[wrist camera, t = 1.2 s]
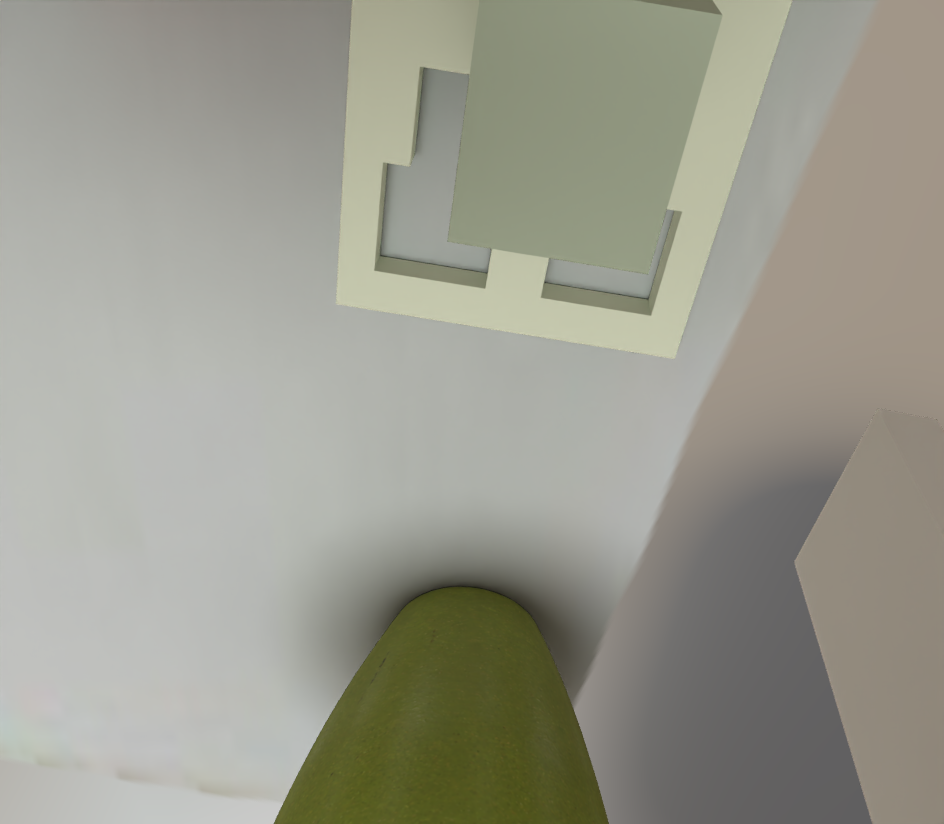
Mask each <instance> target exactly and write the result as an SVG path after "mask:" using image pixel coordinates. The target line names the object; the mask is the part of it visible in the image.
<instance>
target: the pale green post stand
mask: <svg viewBox="0 0 944 824" xmlns="http://www.w3.org/2000/svg"><path fill="white" fill-rule="evenodd" d="M792 1H793V0H352V9H351V28H350V47H349V66H348V85H347V104H346V123H345V142H344V161H343V180H342V199H341V218H340V237H339V256H338V275H337V294H336V304H339V305H345V306H351V307H358V308H364V309H370V310H376V311H382V312H388V313H395V314H401V315H407V316H413V317H419V318H425V319H432V320H438V321H444V322H450V323H456V324H462V325H469V326H475V327H481V328H487V329H493V330H499V331H506V332H512V333H518V334H524V335H530V336H536V337H543V338H549V339H555V340H561V341H567V342H573V343H580V344H586V345H592V346H598V347H604V348H610V349H617V350H623V351H629V352H635V353H641V354H647V355H654V356H660V357H666V358H672V359H675V356H676V353H677V350H678V347H679V344H680V341H681V338H682V335H683V332H684V329H685V326H686V323H687V320H688V317H689V314H690V311H691V308H692V305H693V302H694V298H695V295H696V292H697V289H698V286H699V283H700V280H701V277H702V274H703V271H704V268H705V265H706V262H707V259H708V256H709V253H710V250H711V247H712V244H713V241H714V238H715V235H716V232H717V229H718V226H719V223H720V219H721V216H722V213H723V210H724V207H725V204H726V201H727V198H728V195H729V192H730V189H731V186H732V183H733V180H734V177H735V174H736V171H737V168H738V165H739V162H740V159H741V156H742V153H743V150H744V147H745V144H746V140H747V137H748V134H749V131H750V128H751V125H752V122H753V119H754V116H755V113H756V110H757V107H758V104H759V101H760V98H761V95H762V92H763V89H764V86H765V83H766V80H767V77H768V74H769V71H770V68H771V64H772V61H773V58H774V55H775V52H776V49H777V46H778V43H779V40H780V37H781V34H782V31H783V28H784V25H785V22H786V19H787V16H788V13H789V10H790V7H791V4H792ZM424 67H425V68H431V69H437V70H443V71H449V72H455V73H461V74H467V75H469V83H468V90H467V98H466V105H465V113H464V120H463V128H462V135H461V143H460V150H459V158H458V166H457V173H456V181H455V188H454V196H453V203H452V211H451V218H450V226H449V233H448V241H447V242H453V243H459V244H465V245H471V246H477V247H484V248H490V249H492V250H491V256H490V262H489V268H488V273H482V272H475V271H469V270H463V269H457V268H451V267H445V266H439V265H432V264H426V263H420V262H414V261H408V260H402V259H396V258H390V257H383V256H380V248H381V236H382V224H383V212H384V200H385V188H386V176H387V164H388V163H390V164H396V165H402V166H409V167H410V165H411V163H412V160H413V158H414V155H415V148H416V138H417V128H418V119H419V109H420V99H421V89H422V79H423V69H424ZM667 209H669V210H675V211H674V214H673V217H672V221H671V224H670V228H669V231H668V234H667V238H666V241H665V245H664V248H663V251H662V255H661V258H660V262H659V265H658V268H657V272H656V275H655V279H654V282H653V286H652V289H651V292H650V296H649V299H648V300H647V299H641V298H635V297H629V296H622V295H616V294H610V293H604V292H598V291H592V290H586V289H580V288H573V287H567V286H561V285H555V284H549V283H544V280H545V275H546V270H547V265H548V261H549V258H551V259H557V260H563V261H569V262H575V263H581V264H587V265H594V266H600V267H606V268H612V269H618V270H624V271H630V272H636V273H642V274H648V273H649V270H650V266H651V263H652V259H653V256H654V252H655V249H656V245H657V242H658V238H659V235H660V231H661V228H662V224H663V221H664V217H665V214H666V210H667Z"/></svg>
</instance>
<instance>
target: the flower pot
mask: <svg viewBox="0 0 944 824" xmlns="http://www.w3.org/2000/svg"><path fill="white" fill-rule="evenodd" d="M274 824H609V822H608V819H607V815H606V812H605V808H604V804H603V801H602V797H601V794H600V790H599V786H598V783H597V780H596V776H595V773H594V770H593V767H592V764H591V760H590V757H589V754H588V751H587V748H586V744H585V742H584V738H583V735H582V732H581V729H580V726H579V723H578V721H577V718H576V715H575V712H574V710H573V707H572V704H571V702H570V699H569V697H568V694H567V691H566V689H565V686H564V684H563V681H562V679H561V677H560V674H559V672H558V670H557V667H556V665H555V663H554V660H553V658H552V656H551V654H550V651H549V649H548V647H547V645H546V643H545V641H544V639H543V637H542V635H541V633H540V631H539V629H538V627H537V625H536V623H535V621H534V620H533V618H532V617H531V616H530V615H529V614H528V613H527V611H525V610H524V609H523V608H522V607H521V606H520V605H519V604H517V603H516V602H514V601H513V600H511V599H509V598H507V597H505V596H502V595H500V594H497V593H495V592H492V591H488V590H484V589H479V588H473V587H448V588H442V589H438V590H434V591H430V592H428V593H425V594H423V595H421V596H419V597H417V598H415V599H414V600H412V601H411V602H409V603H408V604H407V605H406V606H405V607H404V608H403V609H402V611H401V612H400V613H399V614H398V615H397V617H396V618H395V619H394V620H393V622H392V623H391V624H390V626H389V627H388V629H387V630H386V631H385V633H384V634H383V635H382V637H381V638H380V640H379V641H378V642H377V644H376V645H375V647H374V648H373V649H372V651H371V652H370V654H369V655H368V657H367V658H366V660H365V661H364V663H363V664H362V665H361V667H360V668H359V670H358V671H357V673H356V674H355V676H354V677H353V679H352V681H351V682H350V684H349V685H348V687H347V689H346V690H345V692H344V693H343V695H342V696H341V698H340V700H339V701H338V703H337V705H336V706H335V708H334V710H333V711H332V713H331V715H330V716H329V718H328V720H327V721H326V723H325V725H324V727H323V729H322V730H321V732H320V734H319V736H318V737H317V739H316V741H315V743H314V745H313V746H312V748H311V750H310V752H309V754H308V756H307V758H306V760H305V762H304V764H303V765H302V767H301V769H300V771H299V773H298V775H297V777H296V779H295V781H294V783H293V785H292V787H291V789H290V791H289V793H288V795H287V797H286V799H285V801H284V803H283V805H282V807H281V809H280V811H279V814H278V816H277V818H276V820H275V822H274Z"/></svg>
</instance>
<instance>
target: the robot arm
mask: <svg viewBox="0 0 944 824" xmlns="http://www.w3.org/2000/svg"><path fill="white" fill-rule="evenodd" d="M794 563H795V567H796V570H797V573H798V577H799V580H800V583H801V587H802V590H803V593H804V597H805V600H806V603H807V607H808V610H809V613H810V616H811V620H812V623H813V627H814V630H815V633H816V637H817V640H818V644H819V647H820V650H821V654H822V657H823V660H824V663H825V667H826V670H827V673H828V677H829V680H830V684H831V687H832V690H833V693H834V697H835V700H836V704H837V707H838V710H839V713H840V717H841V720H842V723H843V727H844V730H845V734H846V737H847V740H848V744H849V747H850V750H851V754H852V757H853V760H854V764H855V767H856V770H857V774H858V777H859V780H860V784H861V787H862V790H863V793H864V797H865V800H866V803H867V807H868V810H869V814H870V817H871V820H872V824H944V430H943V428H942V426H941V425H940V423H939V422H938V420H937V419H933V418H928V417H922V416H916V415H912V414H906V413H901V412H896V411H890V410H885V409H879V408H878V409H877V411H876V412H875V414H874V416H873V418H872V420H871V422H870V424H869V425H868V427H867V429H866V431H865V433H864V435H863V436H862V438H861V440H860V442H859V444H858V446H857V447H856V449H855V451H854V453H853V455H852V457H851V458H850V460H849V462H848V464H847V466H846V468H845V469H844V471H843V473H842V475H841V477H840V479H839V480H838V482H837V484H836V486H835V488H834V490H833V491H832V493H831V495H830V497H829V499H828V501H827V503H826V505H825V506H824V508H823V510H822V512H821V514H820V515H819V517H818V519H817V521H816V523H815V525H814V526H813V528H812V530H811V532H810V534H809V536H808V538H807V539H806V541H805V543H804V545H803V547H802V548H801V550H800V552H799V554H798V556H797V558H796V560H795V561H794Z"/></svg>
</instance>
